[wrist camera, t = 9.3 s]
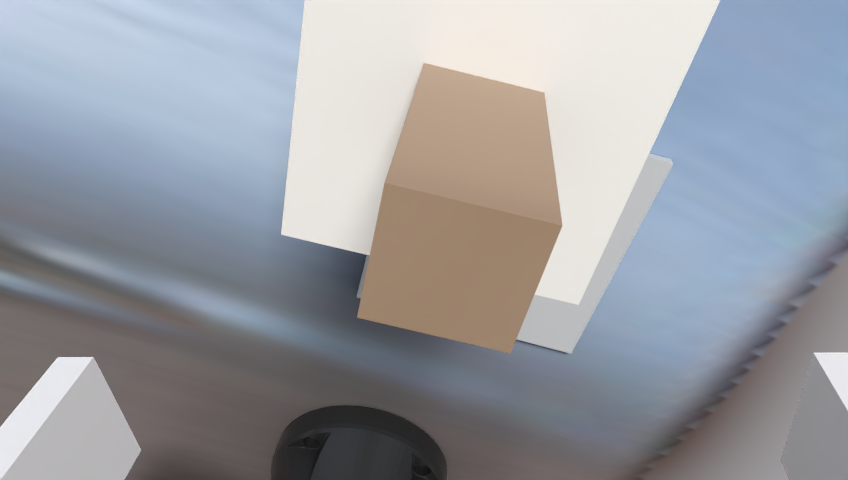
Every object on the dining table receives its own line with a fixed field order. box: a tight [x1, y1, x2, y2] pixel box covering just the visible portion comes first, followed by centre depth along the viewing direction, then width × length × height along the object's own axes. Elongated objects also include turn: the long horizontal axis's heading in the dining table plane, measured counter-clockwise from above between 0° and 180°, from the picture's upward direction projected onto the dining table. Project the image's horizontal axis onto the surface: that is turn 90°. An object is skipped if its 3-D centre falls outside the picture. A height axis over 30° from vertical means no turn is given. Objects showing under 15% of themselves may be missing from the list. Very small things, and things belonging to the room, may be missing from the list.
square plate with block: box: [281, 0, 720, 353], centre depth 19 cm, size 12×12×9 cm
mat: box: [357, 153, 673, 354], centre depth 42 cm, size 16×16×1 cm
